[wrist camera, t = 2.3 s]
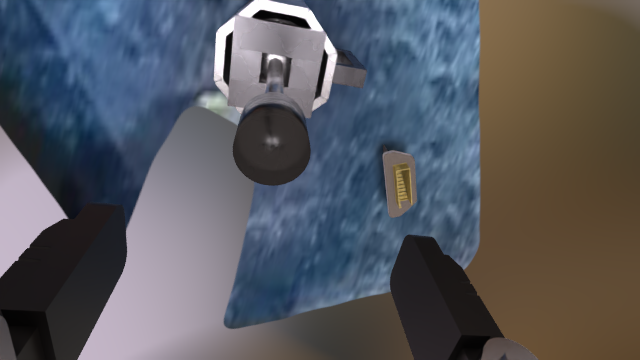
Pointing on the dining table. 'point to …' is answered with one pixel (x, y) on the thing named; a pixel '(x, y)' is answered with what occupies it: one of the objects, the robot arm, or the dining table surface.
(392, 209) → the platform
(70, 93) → the dining table surface
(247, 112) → the plunger
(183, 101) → the dining table surface
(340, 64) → the press pot
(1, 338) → the robot arm
